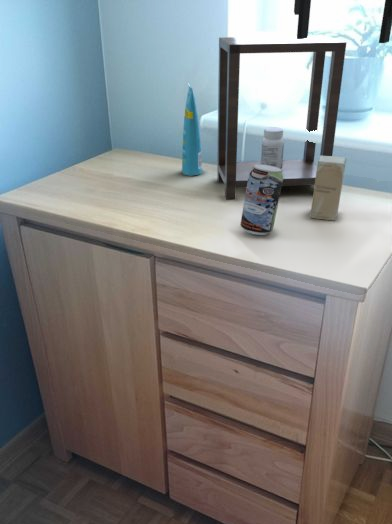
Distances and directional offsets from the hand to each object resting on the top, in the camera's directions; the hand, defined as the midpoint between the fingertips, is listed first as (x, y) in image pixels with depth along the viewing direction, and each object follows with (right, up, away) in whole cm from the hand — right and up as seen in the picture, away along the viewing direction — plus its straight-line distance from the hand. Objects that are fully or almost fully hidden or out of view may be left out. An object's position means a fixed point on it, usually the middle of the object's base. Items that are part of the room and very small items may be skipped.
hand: (341, 40), depth 89 cm
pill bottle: (-7, -10, +34) cm, 36 cm away
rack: (-7, -13, +36) cm, 39 cm away
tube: (-24, -7, +45) cm, 52 cm away
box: (+2, -23, +21) cm, 31 cm away
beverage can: (-11, -28, +14) cm, 33 cm away
